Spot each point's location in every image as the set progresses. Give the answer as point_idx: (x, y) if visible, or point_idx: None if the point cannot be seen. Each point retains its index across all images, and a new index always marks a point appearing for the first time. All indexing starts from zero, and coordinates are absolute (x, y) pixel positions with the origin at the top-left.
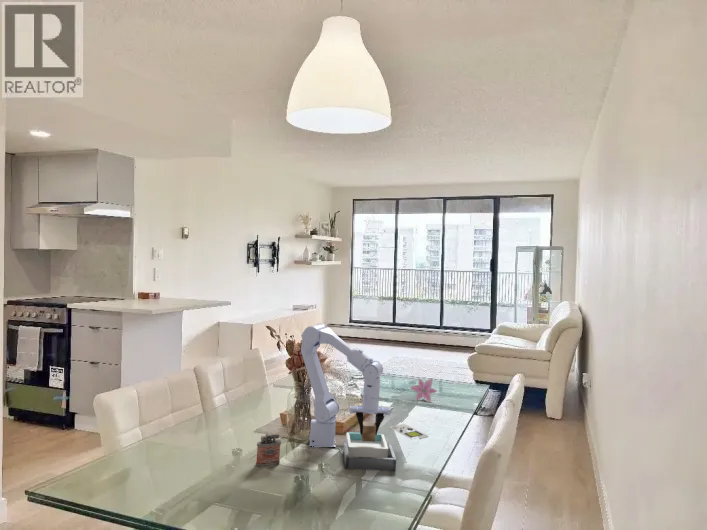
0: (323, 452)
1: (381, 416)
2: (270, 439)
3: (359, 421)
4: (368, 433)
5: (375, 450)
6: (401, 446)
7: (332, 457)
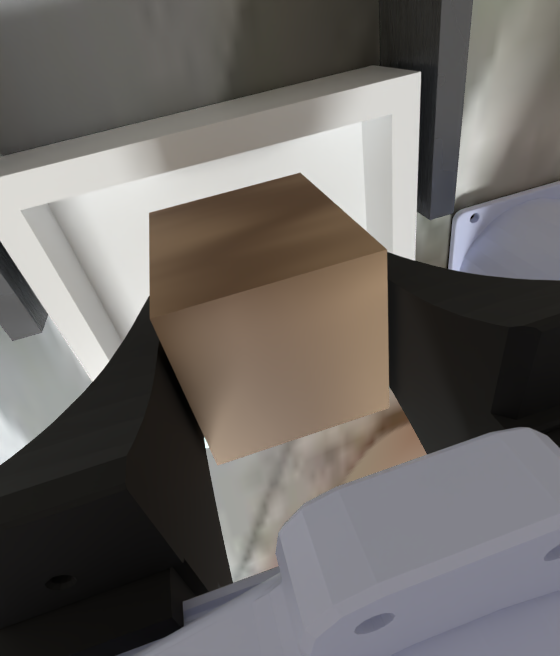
0: (544, 109)
1: (17, 567)
2: None
3: (500, 283)
4: (255, 226)
5: (124, 140)
6: (3, 427)
7: (497, 19)
